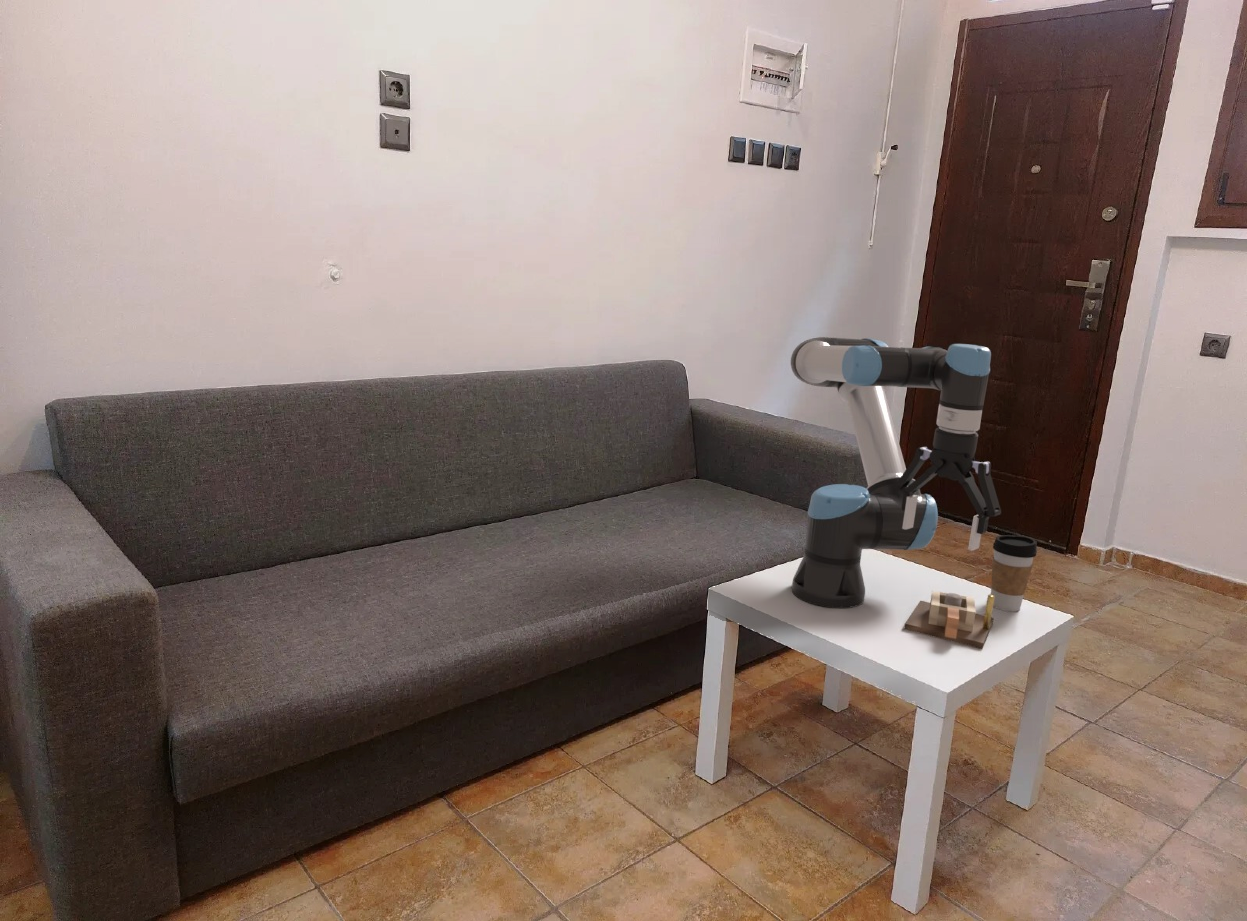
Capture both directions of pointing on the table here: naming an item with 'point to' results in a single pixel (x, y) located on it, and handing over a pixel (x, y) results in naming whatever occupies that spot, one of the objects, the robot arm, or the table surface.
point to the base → (921, 625)
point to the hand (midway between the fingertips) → (939, 538)
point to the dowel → (988, 612)
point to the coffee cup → (1011, 570)
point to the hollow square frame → (951, 614)
